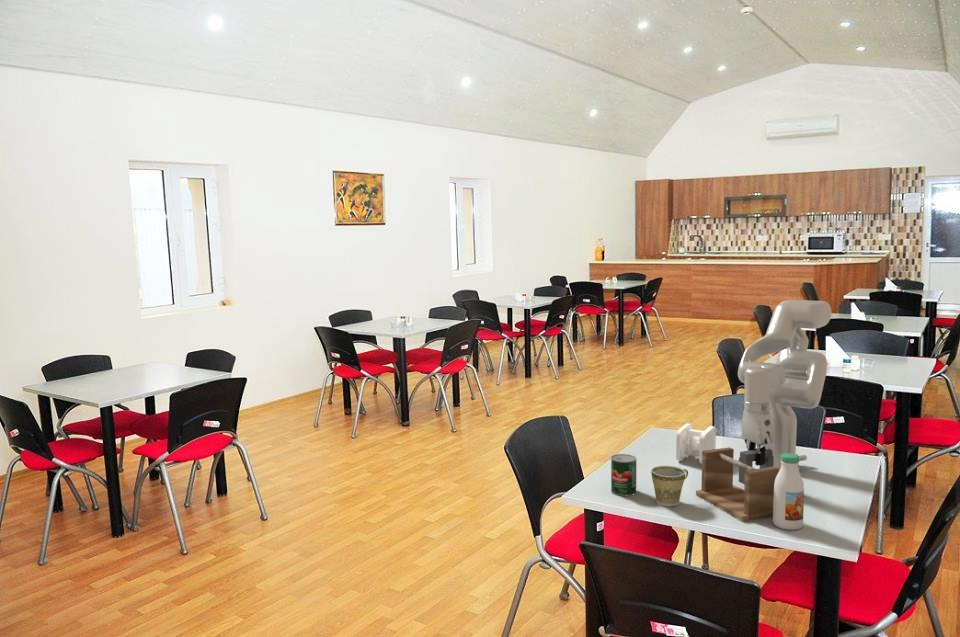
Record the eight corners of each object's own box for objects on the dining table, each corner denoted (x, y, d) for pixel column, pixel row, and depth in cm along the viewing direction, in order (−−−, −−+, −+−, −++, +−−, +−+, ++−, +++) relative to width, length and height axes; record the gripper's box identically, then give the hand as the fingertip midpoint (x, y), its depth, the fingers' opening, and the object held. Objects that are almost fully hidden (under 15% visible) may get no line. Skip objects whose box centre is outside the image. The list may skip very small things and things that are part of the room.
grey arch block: (764, 476, 234) (765, 447, 232) (773, 481, 230) (773, 450, 228) (738, 481, 231) (738, 451, 229) (746, 485, 227) (747, 455, 225)
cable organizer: (687, 452, 268) (688, 421, 267) (717, 456, 262) (717, 425, 261) (675, 463, 256) (675, 431, 254) (705, 468, 250) (706, 435, 248)
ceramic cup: (666, 511, 212) (667, 478, 211) (643, 500, 220) (644, 469, 219) (699, 503, 218) (700, 471, 217) (675, 492, 227) (676, 462, 225)
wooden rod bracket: (695, 495, 224) (696, 451, 222) (733, 489, 228) (734, 446, 227) (742, 521, 203) (743, 473, 202) (783, 515, 208) (784, 467, 206)
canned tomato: (634, 487, 232) (634, 454, 231) (638, 496, 225) (638, 461, 223) (609, 487, 233) (609, 453, 232) (612, 495, 225) (612, 461, 224)
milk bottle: (772, 528, 198) (775, 458, 196) (772, 518, 206) (774, 450, 203) (803, 532, 196) (806, 460, 193) (802, 521, 203) (804, 452, 200)
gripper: (785, 411, 220) (784, 469, 223) (749, 399, 236) (748, 453, 238) (764, 414, 218) (763, 473, 221) (730, 402, 233) (729, 456, 236)
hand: (756, 462), depth 229 cm, fingers closed on grey arch block, 3 cm apart
